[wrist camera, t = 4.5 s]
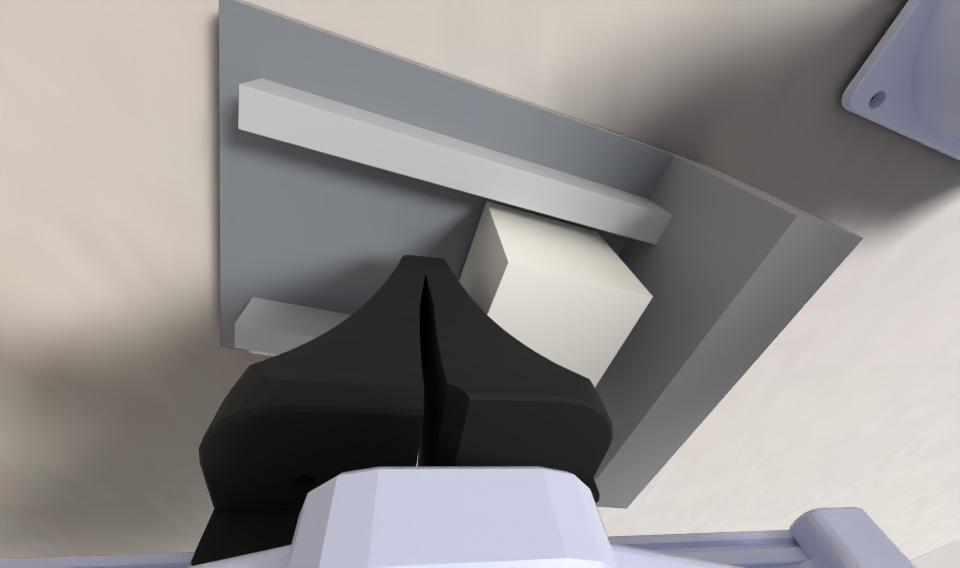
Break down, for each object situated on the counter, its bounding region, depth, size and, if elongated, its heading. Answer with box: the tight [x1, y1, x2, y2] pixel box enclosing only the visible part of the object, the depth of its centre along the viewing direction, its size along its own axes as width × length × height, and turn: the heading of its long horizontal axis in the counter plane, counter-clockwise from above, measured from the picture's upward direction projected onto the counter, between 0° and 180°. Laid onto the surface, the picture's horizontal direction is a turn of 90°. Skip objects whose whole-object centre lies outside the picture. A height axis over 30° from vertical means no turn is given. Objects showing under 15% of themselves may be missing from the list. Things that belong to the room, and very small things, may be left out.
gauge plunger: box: [459, 201, 653, 387], centre depth 13 cm, size 4×8×4 cm, turn 162°
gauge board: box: [219, 0, 863, 508], centre depth 12 cm, size 15×11×6 cm
